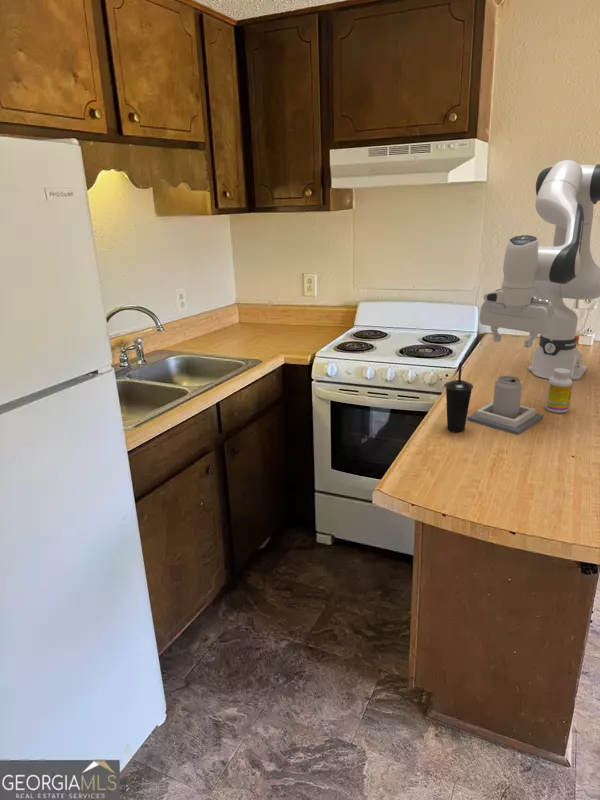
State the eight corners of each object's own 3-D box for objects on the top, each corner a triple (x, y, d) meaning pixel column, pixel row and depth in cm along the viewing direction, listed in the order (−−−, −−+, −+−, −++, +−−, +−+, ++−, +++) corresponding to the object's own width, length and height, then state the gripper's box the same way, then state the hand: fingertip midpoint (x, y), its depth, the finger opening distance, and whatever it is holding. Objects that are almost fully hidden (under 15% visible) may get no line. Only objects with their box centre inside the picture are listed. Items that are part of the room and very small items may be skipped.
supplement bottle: (570, 414, 174) (576, 374, 169) (547, 413, 175) (552, 373, 171) (565, 406, 180) (571, 367, 175) (543, 405, 181) (548, 366, 177)
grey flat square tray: (493, 405, 182) (494, 396, 181) (542, 418, 172) (544, 409, 170) (467, 420, 172) (467, 410, 171) (517, 434, 161) (519, 425, 160)
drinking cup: (470, 425, 168) (475, 360, 161) (468, 435, 162) (474, 368, 155) (443, 422, 171) (447, 358, 164) (441, 432, 164) (445, 366, 157)
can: (519, 421, 167) (524, 383, 163) (492, 420, 169) (496, 382, 165) (517, 412, 174) (521, 375, 170) (491, 410, 176) (494, 373, 171)
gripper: (559, 298, 154) (553, 348, 160) (489, 290, 168) (485, 336, 173) (549, 302, 150) (543, 353, 155) (478, 294, 164) (475, 340, 169)
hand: (512, 344), depth 165 cm, fingers open, 8 cm apart
